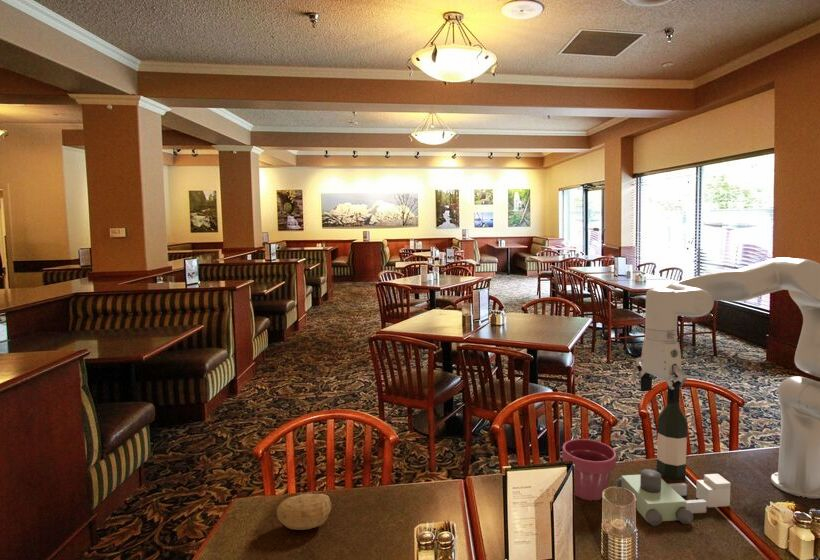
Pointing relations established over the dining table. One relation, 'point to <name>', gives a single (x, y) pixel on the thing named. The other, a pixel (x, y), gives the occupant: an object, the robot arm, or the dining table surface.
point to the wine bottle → (672, 442)
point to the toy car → (661, 498)
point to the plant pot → (590, 466)
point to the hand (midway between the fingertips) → (659, 396)
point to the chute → (714, 490)
